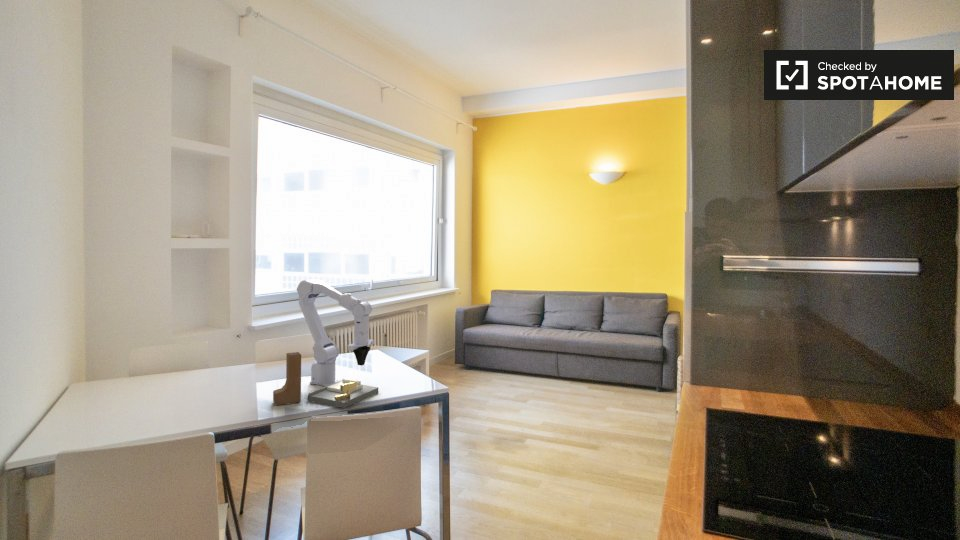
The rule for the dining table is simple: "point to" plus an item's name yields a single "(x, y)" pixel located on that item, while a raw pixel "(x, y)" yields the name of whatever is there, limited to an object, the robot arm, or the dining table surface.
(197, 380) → the dining table surface
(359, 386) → the cover
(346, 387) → the key
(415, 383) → the dining table surface
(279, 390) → the wooden block
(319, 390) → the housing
